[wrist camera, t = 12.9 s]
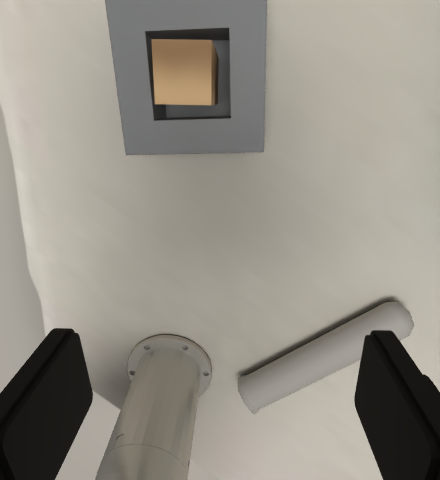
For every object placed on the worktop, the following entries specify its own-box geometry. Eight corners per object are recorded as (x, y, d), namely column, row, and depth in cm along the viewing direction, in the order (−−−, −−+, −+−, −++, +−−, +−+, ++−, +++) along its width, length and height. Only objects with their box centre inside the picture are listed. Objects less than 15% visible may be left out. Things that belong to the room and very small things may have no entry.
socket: (259, 143, 37) (263, 151, 31) (144, 145, 38) (125, 155, 32) (261, 4, 32) (267, -20, 26) (129, 10, 33) (103, -11, 27)
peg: (218, 104, 35) (211, 105, 26) (176, 103, 35) (154, 104, 26) (218, 56, 33) (211, 39, 24) (175, 56, 34) (151, 38, 24)
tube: (404, 300, 40) (234, 388, 46) (429, 337, 40) (255, 421, 46) (391, 288, 45) (240, 369, 52) (414, 321, 45) (259, 399, 51)
